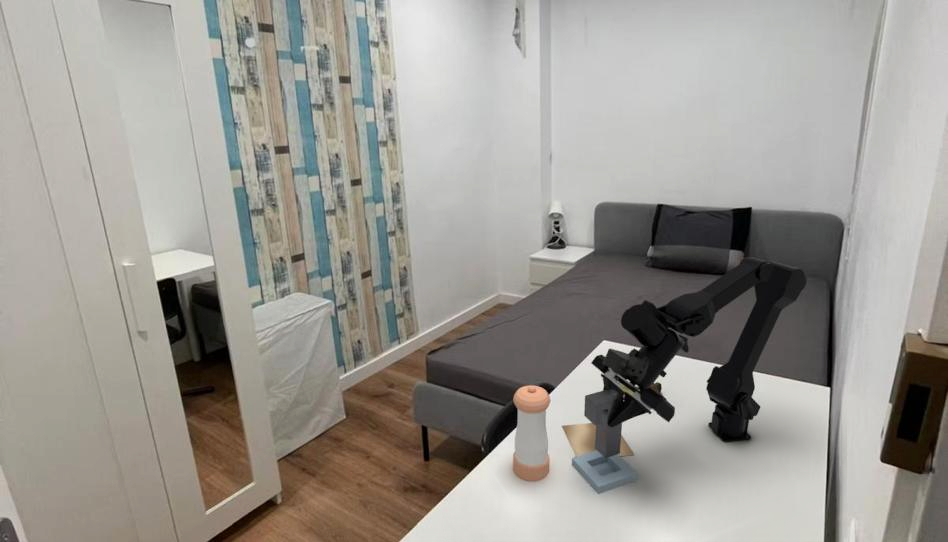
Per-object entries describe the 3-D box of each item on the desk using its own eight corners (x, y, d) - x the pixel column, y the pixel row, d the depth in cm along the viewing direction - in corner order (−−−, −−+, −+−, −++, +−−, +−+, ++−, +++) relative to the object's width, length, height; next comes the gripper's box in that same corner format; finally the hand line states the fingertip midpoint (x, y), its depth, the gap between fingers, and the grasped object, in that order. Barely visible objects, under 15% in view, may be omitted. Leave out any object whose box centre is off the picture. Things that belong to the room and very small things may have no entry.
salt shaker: (507, 464, 105) (506, 381, 99) (538, 455, 107) (539, 374, 101) (522, 487, 98) (523, 400, 92) (556, 477, 101) (558, 392, 95)
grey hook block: (609, 443, 102) (612, 388, 98) (619, 453, 99) (623, 396, 95) (582, 451, 99) (585, 395, 96) (593, 462, 96) (595, 404, 93)
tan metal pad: (612, 423, 117) (613, 421, 117) (634, 457, 106) (634, 454, 105) (561, 427, 116) (561, 425, 116) (577, 462, 104) (577, 460, 104)
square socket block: (608, 454, 107) (609, 446, 106) (636, 481, 99) (637, 473, 98) (571, 466, 103) (572, 458, 103) (598, 495, 96) (598, 486, 95)
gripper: (600, 317, 102) (552, 378, 101) (667, 356, 85) (609, 430, 85) (630, 345, 107) (584, 403, 107) (698, 387, 91) (644, 456, 90)
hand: (603, 420), depth 97 cm, fingers closed on grey hook block, 3 cm apart
